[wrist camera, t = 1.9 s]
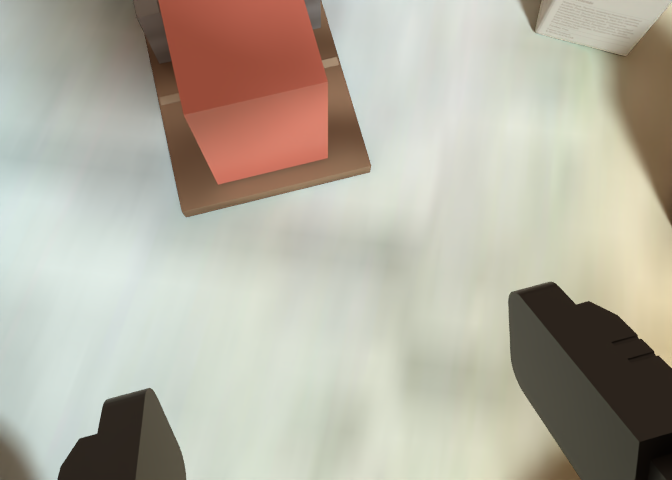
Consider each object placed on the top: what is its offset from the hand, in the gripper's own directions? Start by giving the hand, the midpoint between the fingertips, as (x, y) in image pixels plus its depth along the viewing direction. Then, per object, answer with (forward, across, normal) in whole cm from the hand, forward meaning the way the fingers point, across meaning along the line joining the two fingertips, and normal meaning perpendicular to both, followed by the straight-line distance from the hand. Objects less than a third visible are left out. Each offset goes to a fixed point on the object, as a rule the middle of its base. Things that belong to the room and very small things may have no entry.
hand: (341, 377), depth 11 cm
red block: (+26, 0, +4) cm, 27 cm away
